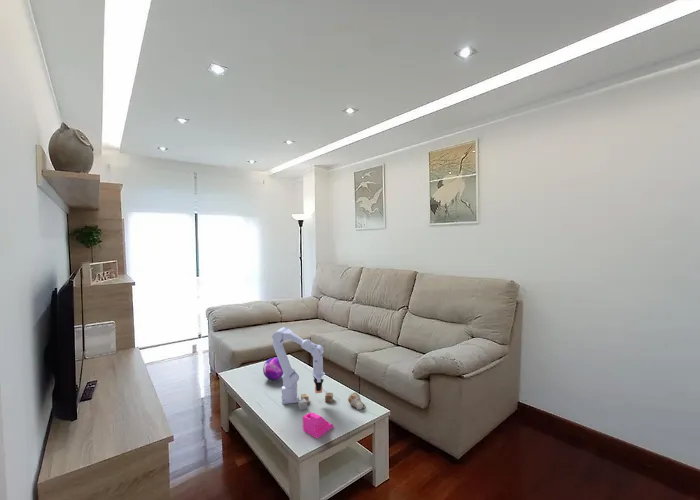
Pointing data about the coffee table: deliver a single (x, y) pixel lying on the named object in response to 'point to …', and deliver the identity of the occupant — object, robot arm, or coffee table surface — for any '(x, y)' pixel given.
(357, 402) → the cream patterned bulbous figurine
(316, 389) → the terracotta cube
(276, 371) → the decorative orb
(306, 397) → the beech cube
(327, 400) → the walnut cube
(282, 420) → the coffee table surface
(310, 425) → the bracket
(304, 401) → the slate cube
